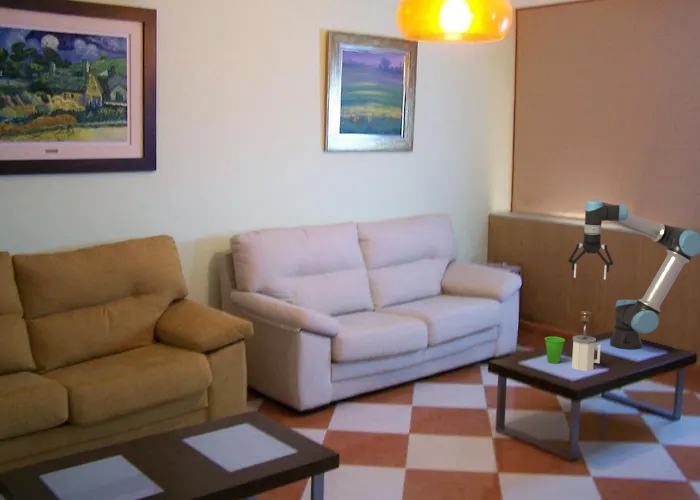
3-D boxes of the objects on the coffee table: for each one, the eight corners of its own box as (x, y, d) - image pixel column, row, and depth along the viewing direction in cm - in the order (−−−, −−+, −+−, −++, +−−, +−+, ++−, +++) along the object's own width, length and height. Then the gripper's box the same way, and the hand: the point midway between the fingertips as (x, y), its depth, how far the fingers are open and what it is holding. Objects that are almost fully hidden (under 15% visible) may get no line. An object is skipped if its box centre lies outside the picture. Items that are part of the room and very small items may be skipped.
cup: (562, 360, 379) (563, 337, 378) (565, 365, 370) (566, 342, 369) (542, 359, 380) (543, 336, 378) (544, 364, 371) (546, 341, 369)
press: (571, 363, 374) (572, 334, 372) (598, 365, 371) (600, 337, 369) (571, 369, 364) (572, 340, 362) (599, 372, 361) (601, 342, 359)
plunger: (582, 357, 371) (585, 310, 368) (592, 360, 366) (595, 312, 363) (573, 358, 368) (576, 311, 365) (583, 362, 363) (586, 314, 360)
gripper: (564, 233, 381) (562, 277, 385) (620, 235, 375) (617, 281, 378) (564, 231, 388) (562, 275, 392) (620, 233, 382) (616, 278, 385)
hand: (589, 278), depth 385 cm, fingers open, 13 cm apart
